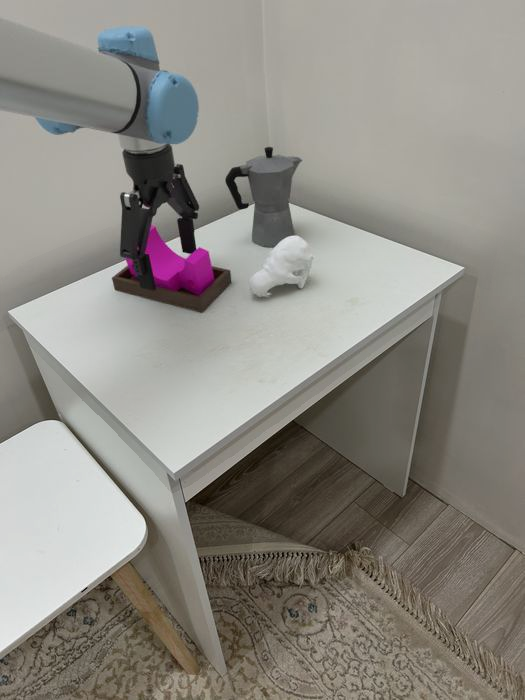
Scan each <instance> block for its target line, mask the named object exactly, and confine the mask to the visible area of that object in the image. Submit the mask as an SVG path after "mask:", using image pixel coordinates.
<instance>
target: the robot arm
mask: <svg viewBox="0 0 525 700" xmlns="http://www.w3.org/2000/svg"><path fill="white" fill-rule="evenodd" d="M96 38H97V39H96V40H97V45H98V46H97V47H98V48H97V50H98V51H97V50H94V49H92V48H88V47H86V46H83V45H80V44H78V43H74V42H72V41H69V40H66V39H62V38H60V37H58V36H55V35H51V34H49V33H46V32H43V31H40V30H38V29H34V28H31V27H28V26H25V25H23V24H20V23H17V22H14V21H11V20H9V19H6V18H3V17H0V111H2V112H7V113H11V114H16V115H22V116H27V117H32V118H35V120H36V122H37V123H38V124H39V125H40V126H41V127H42V129H44V130H45V132H48V133H50V134H52V135H55V136H61V135H64V134H68V133H71V134H74V133H75V132H76V131H77V130H80V129H91V130H94V131H95V130H96V131H100V132H105V133H111V134H115V135H117V137H118V141H119V146H120V148H122V149H123V151H122V158H123V159H122V160H123V163H124V168H125V172H126V174H127V175H128V177H130V179H131V180H132V184H133V187H132V190H131V191H129V192H125V191H123V192H121V193H120V194H119V199H120V205H121V224H120V241H119V242H120V243H119V244H120V245H119V256H120V257H121V258H124V259H125V258H128V259H132V262H133V266H134V270H135V273H136V274H137V275H138V279H139V283H140V287H141V288H144V289H148V290H152V291H154V290H155V289H156V285H155V281H154V276H153V271H152V267H151V262H150V257H149V254H145V251H146V246H147V242H148V237H149V232H150V228H151V225H152V222H153V217H155V216H156V215H157V211H158V209H159V208H160V207H161V206H162V205H163V204H166V203H167V204H168V205H169V207H171V209H172V210H173V211H174V212H176V214H177V215H178V216H179V217H178V218H177V219H176V223H177V229H178V235H179V239H180V245H181V250H182V251H181V252H182V253H185V254H188V255H189V254H190V255H191V254H192V253H193V252H194V251H195V250H197V249H198V248H197V242H196V238H195V225H194V224H195V223H194V220H198V218H199V213H198V211H199V210H200V204H199V202H198V200H197V198H196V196H195V194H194V192H193V190H192V188H191V185H190V183H189V182H188V179H187V177H186V174H185V169H184V168H185V167H184V165H183V164H180V163H175V157H174V151H173V146H172V145H179V144H182V143H184V142H185V141H187V140H188V139H190V138H191V136H192V134H193V133H194V131H195V129H196V127H197V124H198V117H199V112H200V107H199V106H200V104H199V98H198V94H197V91H196V89H195V87H194V86H193V84H192V82H191V81H190V80H189V79H188V78H187V77H185V76H184V75H181V74H178V73H172V72H170V71H168V70H163V69H160V60H159V56H158V52H157V48H156V43H155V40H154V36H153V34H152V32H151V31H150V30H149V29H148V28H146V27H143V26H119V27H112V28H108V29H105V30H103V31H101V32H99V33H98V34H97V37H96ZM143 206H144V207H143ZM138 248H139V250H138Z"/></svg>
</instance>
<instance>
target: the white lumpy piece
mask: <svg viewBox="0 0 525 700" xmlns="http://www.w3.org/2000/svg"><path fill="white" fill-rule="evenodd" d="M272 248H273V249H271V251H270V252H269V254H268V257H267V259H265V261H264V262H263V264H262V268H261V269H259V270H258V271H256V272H255V273H253V275H251V277H250V278H249V279H248V287H249V290H250V291H251V293H252V294H254V295H256V296H257V297H258V298H261V297H265V298H269V296H270V295H272V292H269V290H270V289H272V288H274V287H276V286H282V285H285V284H290V285H293V284H294V285H295V284H296V285H297V288H299V289H303V288H304V287H305V284H306V281H307V279H308V277H309V273H310V271H311V269H312V265H313V261H314V256H313V255H312V253H311V248H310V245H309V244H308V242H307V241H306V240H305V239H303V238H302V237H300V236H299V235H295V236H289V237H286V238H285V239H283V240H282V241H280V242H279V243H278V244H277V245H276V246H275V247H272Z"/></svg>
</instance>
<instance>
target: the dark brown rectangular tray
mask: <svg viewBox="0 0 525 700" xmlns="http://www.w3.org/2000/svg"><path fill="white" fill-rule="evenodd" d="M212 270H213V275H214V279H215V281H214V282H213V283H212V284H211V285H210V286H209V287H208V288H207V289H206V290H205V291H204V292H203V293H202V294H201V295H200V296H198V295H196V294H194V293H192V292H191V291H189V290H187V289H185V288H183V287H181V288H180V289H179V290H178V291H174V290H170V289H166V288H162V287H158V286H156V289H155V290H154V291H152V290H148V289H144V288H141V287H140V283H139V279H138V277H136V276H134V275H132V274H131V273H130V270H129V267H128V265H126V266H125V267H124V268H122V269H121V270H120V271H118V272H117V273H116V274H114V275H113V276H112V277H111V281H112V284H113V288H114V291H118V292H121V293H125V294H129V295H132V296H136V297H140V298H144V299H147V300H152V301H156V302H160V303H163V304H168V305H172V306H175V307H179V308H183V309H186V310H190V311H194V312H199V313H204V312H205V310H207V308H209V306H211V304H213V302H214V301H216V299H217V298H218V297H219V296H220V295H221V294H222V293H223V292H224V291H226V289H227V288H228V287H230V285H231V284H232V272H231V269H227V268H222V267H217V266H213V265H212Z"/></svg>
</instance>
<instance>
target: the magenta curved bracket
mask: <svg viewBox="0 0 525 700" xmlns="http://www.w3.org/2000/svg"><path fill="white" fill-rule="evenodd" d="M196 249H197V250H195V251H194V252H193V253H192V254H190V255H188V256H187V257H183V256H181V255H179V254H177V252H175V251H174V250H173V249H171V248H170V246H168V245H167V244H166V242H165V241H164V239H162V237H161V235H160V233H159V232H158V230H157V227H156V226H155V225H152V224H151V228H150V232H149V237H148V242H147V246H146V251H145V254H149V257H150V262H151V267H152V271H153V276H154V281H155V285H156V286H158V287H162V288H166V289H170V290H174V291H178V290H179V289H180V288H181V287H183V288H185V289H187V290H189V291H191V292H192V293H194V294H196V295H198V296H200V295H201V294H202V293H203V292H204V291H205V290H206V289H207V288H208V287H209V286H210V285H211V284H212V283H213V282H214V281H215V279H214V275H213V270H212V266H213V265H212V260H211V257H210V252H209V250H207V249H205V248H202V247H201V246H199V247H198V248H196ZM138 250H139V248H138ZM124 259H125V262H126V264H127V265H126V266H128V267H129V270H130V273H131V274H132V275H134V276H136V277H138V275H137V274H136V273H135V270H134V266H133V262H132V259H128V258H124Z"/></svg>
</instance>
